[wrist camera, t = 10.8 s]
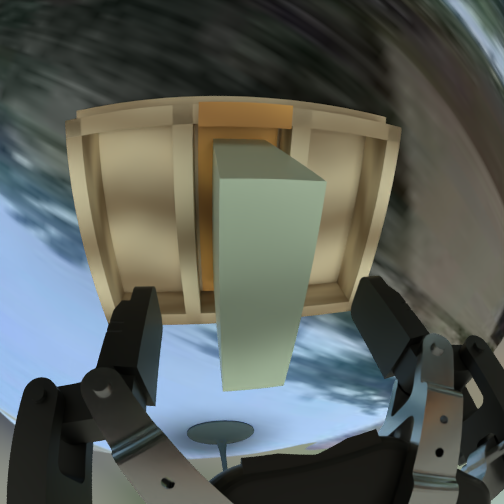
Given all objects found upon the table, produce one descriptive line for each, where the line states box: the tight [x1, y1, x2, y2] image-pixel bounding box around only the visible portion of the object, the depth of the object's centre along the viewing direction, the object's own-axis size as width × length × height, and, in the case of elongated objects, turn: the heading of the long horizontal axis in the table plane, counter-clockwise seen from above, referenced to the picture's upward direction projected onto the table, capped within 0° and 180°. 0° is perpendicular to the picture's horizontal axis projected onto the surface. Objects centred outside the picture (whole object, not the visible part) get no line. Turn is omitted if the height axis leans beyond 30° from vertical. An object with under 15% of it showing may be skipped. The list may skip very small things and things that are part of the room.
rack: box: [65, 96, 402, 325], centre depth 17 cm, size 15×20×4 cm
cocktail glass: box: [187, 421, 254, 471], centre depth 26 cm, size 18×18×25 cm
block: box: [212, 139, 327, 391], centre depth 14 cm, size 10×3×9 cm, turn 177°
